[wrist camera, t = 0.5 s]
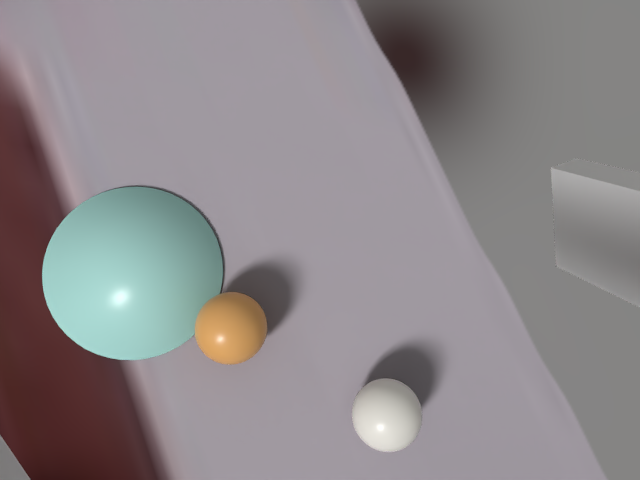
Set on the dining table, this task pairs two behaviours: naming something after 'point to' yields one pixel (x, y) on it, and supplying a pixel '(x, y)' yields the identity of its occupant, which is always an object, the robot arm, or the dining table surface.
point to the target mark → (131, 272)
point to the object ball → (230, 328)
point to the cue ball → (387, 415)
